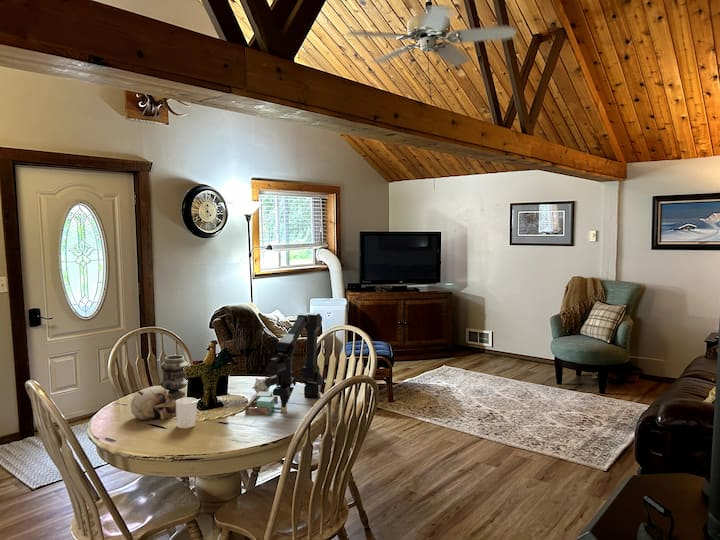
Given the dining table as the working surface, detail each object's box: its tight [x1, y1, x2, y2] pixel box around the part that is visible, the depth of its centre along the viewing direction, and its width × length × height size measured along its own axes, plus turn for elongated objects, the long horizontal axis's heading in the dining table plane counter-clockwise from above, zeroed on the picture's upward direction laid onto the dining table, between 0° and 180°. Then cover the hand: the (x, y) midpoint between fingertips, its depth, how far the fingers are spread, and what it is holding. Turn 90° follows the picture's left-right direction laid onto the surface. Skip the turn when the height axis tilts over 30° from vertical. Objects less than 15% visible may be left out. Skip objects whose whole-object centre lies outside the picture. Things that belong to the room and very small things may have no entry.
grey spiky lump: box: [251, 376, 271, 393], centre depth 242 cm, size 9×8×10 cm
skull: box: [130, 385, 176, 421], centre depth 210 cm, size 16×17×13 cm
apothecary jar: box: [159, 354, 189, 399], centre depth 238 cm, size 12×12×18 cm
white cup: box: [175, 397, 198, 429], centre depth 201 cm, size 8×8×10 cm
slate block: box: [256, 391, 273, 401], centre depth 228 cm, size 6×6×5 cm
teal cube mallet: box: [257, 397, 288, 414], centre depth 220 cm, size 12×6×8 cm, turn 83°
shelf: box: [244, 392, 279, 416], centre depth 224 cm, size 10×18×4 cm, turn 176°
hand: (284, 406), depth 219 cm, fingers closed on teal cube mallet, 2 cm apart
